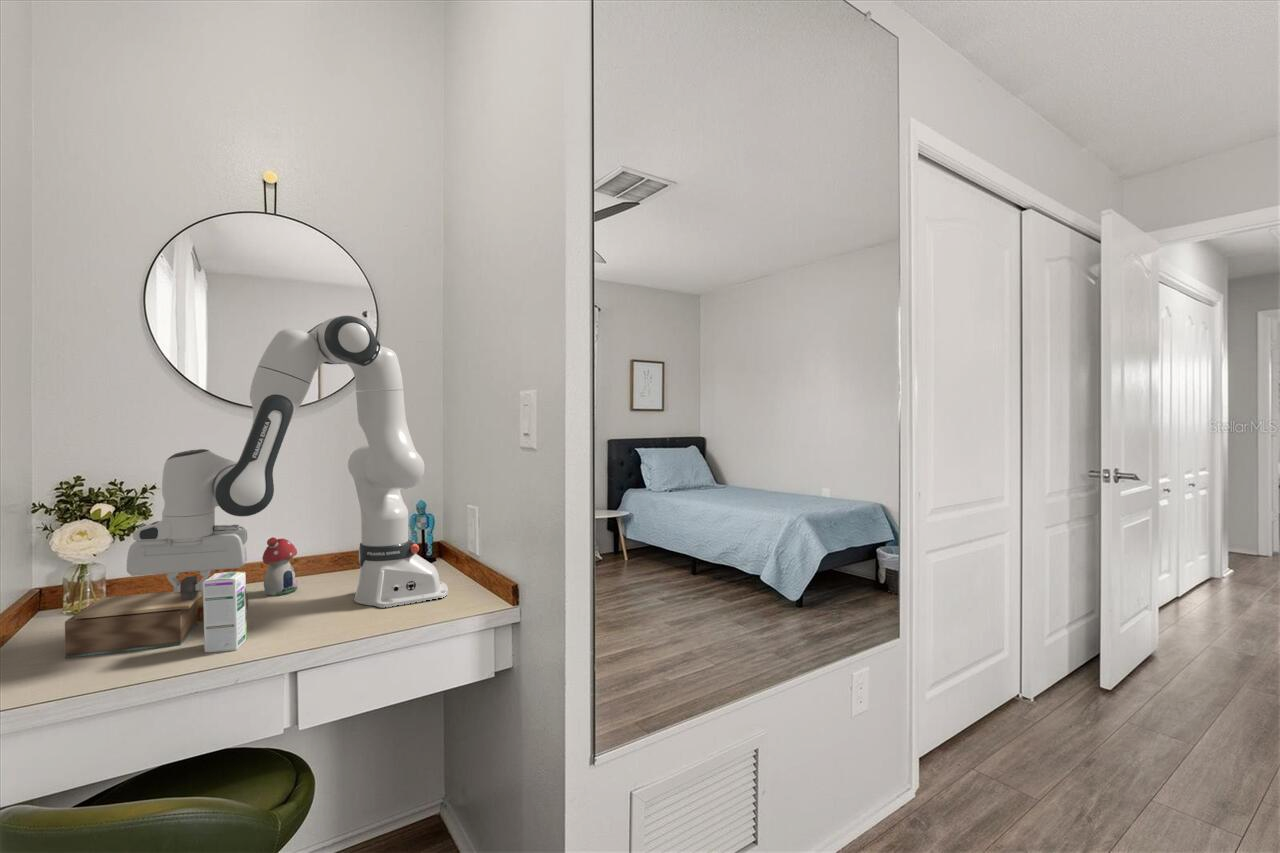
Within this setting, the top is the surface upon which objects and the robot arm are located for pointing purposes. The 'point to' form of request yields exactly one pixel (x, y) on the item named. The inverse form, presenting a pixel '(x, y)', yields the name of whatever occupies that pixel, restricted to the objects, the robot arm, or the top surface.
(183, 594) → the lid
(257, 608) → the top surface
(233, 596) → the syrup box
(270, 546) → the decorative ornament
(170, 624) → the walnut box
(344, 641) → the top surface
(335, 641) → the top surface
